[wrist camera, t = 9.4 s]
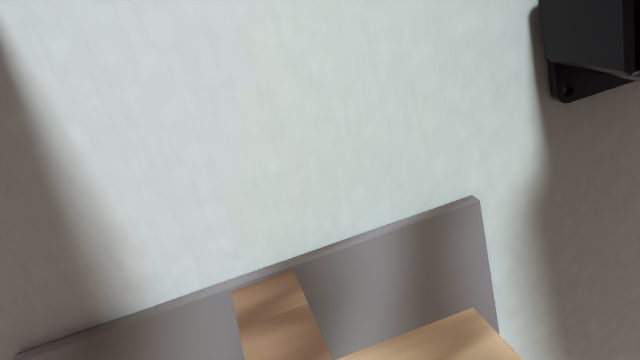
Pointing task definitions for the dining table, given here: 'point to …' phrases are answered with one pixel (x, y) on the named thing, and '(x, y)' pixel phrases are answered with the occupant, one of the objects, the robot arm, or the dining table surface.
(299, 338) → the brown rectangular block
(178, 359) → the slotted stand
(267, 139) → the dining table surface
